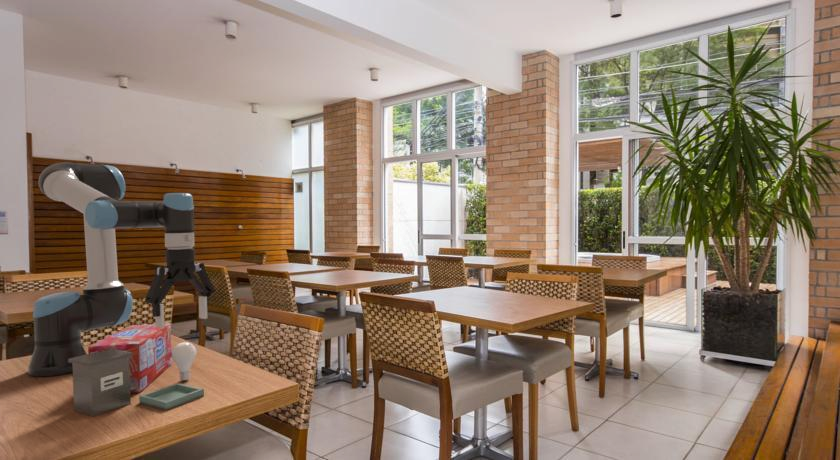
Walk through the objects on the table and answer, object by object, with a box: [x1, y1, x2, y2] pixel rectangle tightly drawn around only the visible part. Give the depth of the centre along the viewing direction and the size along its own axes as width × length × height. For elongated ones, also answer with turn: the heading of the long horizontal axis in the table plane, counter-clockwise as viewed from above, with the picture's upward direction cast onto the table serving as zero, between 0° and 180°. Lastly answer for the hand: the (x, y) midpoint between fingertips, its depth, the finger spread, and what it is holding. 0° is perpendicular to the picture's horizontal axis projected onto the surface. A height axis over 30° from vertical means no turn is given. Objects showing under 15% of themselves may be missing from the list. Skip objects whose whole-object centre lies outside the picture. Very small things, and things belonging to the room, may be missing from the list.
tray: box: [138, 382, 205, 411], centre depth 127 cm, size 11×11×2 cm
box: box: [87, 322, 173, 394], centre depth 144 cm, size 27×13×14 cm, turn 10°
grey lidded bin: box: [68, 349, 133, 417], centre depth 123 cm, size 9×10×13 cm
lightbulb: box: [172, 341, 197, 382], centre depth 142 cm, size 6×6×11 cm
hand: (182, 323), depth 141 cm, fingers open, 13 cm apart
